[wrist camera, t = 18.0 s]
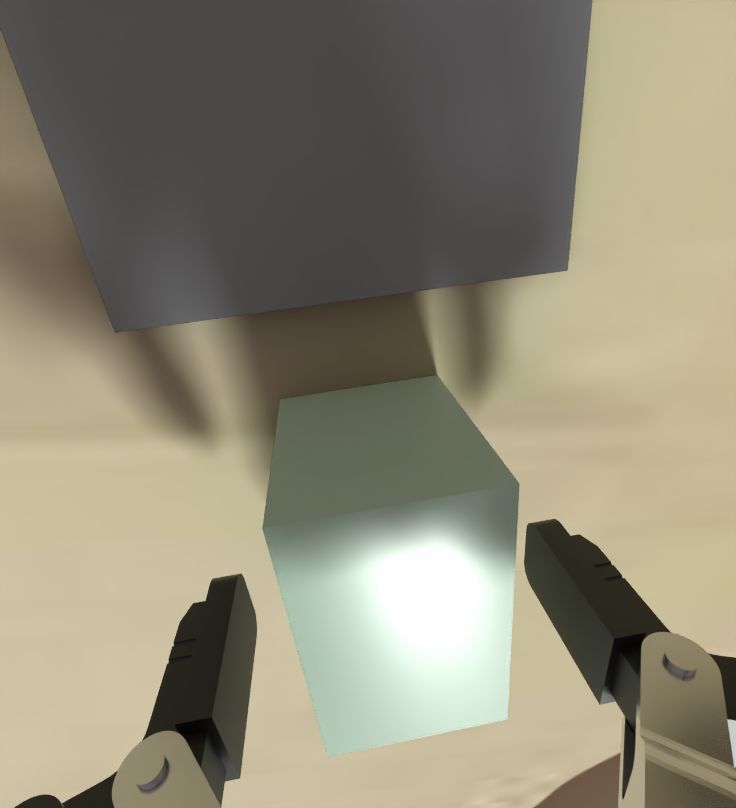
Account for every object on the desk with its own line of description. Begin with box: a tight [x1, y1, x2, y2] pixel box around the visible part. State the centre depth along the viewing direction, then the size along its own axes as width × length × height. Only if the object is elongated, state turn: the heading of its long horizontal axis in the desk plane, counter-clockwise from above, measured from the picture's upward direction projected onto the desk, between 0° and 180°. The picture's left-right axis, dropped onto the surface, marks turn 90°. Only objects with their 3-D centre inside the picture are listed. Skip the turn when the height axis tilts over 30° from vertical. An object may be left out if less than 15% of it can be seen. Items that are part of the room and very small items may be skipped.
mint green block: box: [263, 375, 519, 757], centre depth 13 cm, size 8×5×6 cm, turn 6°
